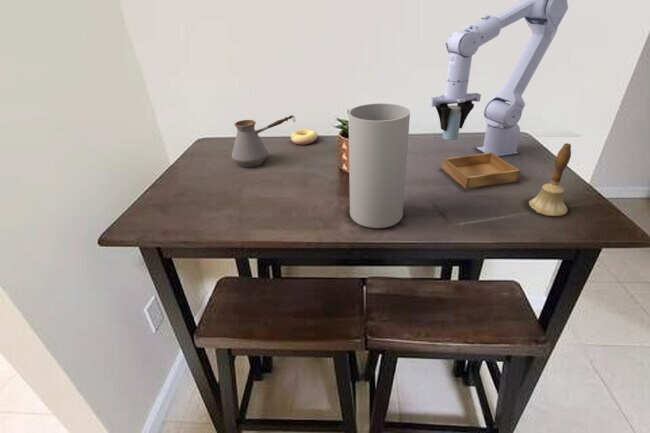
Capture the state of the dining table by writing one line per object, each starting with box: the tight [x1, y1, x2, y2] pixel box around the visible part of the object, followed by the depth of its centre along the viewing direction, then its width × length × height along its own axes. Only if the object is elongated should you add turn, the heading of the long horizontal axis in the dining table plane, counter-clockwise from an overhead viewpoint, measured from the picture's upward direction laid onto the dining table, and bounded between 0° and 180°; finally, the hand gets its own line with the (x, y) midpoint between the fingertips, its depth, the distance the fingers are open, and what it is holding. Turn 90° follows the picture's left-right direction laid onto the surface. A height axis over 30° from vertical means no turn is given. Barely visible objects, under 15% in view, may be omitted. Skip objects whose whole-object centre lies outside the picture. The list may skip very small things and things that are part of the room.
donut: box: [290, 128, 318, 146], centre depth 136 cm, size 10×5×9 cm
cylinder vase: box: [347, 102, 411, 229], centre depth 85 cm, size 12×12×25 cm
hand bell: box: [528, 143, 572, 217], centre depth 87 cm, size 8×8×16 cm
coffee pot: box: [231, 114, 296, 168], centre depth 118 cm, size 21×12×15 cm, turn 84°
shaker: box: [442, 104, 462, 141], centre depth 110 cm, size 4×4×9 cm
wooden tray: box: [442, 152, 521, 189], centre depth 106 cm, size 15×13×4 cm
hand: (451, 128), depth 111 cm, fingers closed on shaker, 4 cm apart
